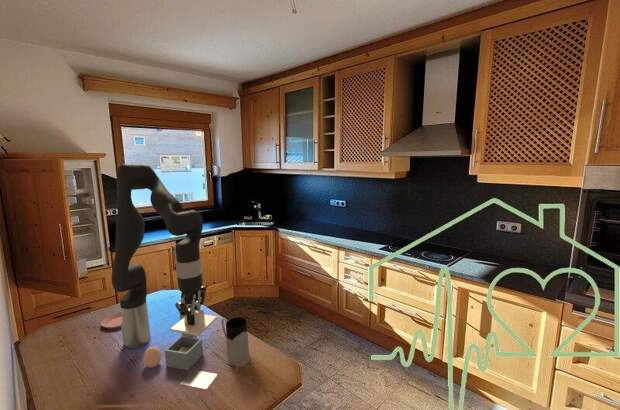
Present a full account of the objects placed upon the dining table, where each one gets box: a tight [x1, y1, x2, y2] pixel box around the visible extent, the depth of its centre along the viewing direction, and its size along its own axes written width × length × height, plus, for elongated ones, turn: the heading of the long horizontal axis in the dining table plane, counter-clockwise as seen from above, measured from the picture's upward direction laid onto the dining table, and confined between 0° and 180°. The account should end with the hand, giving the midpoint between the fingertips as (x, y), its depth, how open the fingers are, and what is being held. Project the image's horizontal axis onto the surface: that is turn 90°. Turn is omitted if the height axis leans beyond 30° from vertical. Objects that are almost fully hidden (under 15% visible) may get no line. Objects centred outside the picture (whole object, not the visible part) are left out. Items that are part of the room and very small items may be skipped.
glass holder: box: [221, 316, 251, 368], centre depth 116 cm, size 9×14×15 cm, turn 48°
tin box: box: [164, 335, 204, 371], centre depth 114 cm, size 9×9×7 cm
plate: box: [100, 311, 122, 330], centre depth 143 cm, size 14×14×2 cm
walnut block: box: [179, 347, 192, 353], centre depth 114 cm, size 4×4×4 cm
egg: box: [142, 346, 162, 369], centre depth 112 cm, size 6×6×8 cm
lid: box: [170, 308, 218, 337], centre depth 101 cm, size 10×10×5 cm
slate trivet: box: [179, 369, 219, 390], centre depth 105 cm, size 10×7×1 cm
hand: (194, 322), depth 101 cm, fingers closed on lid, 2 cm apart
